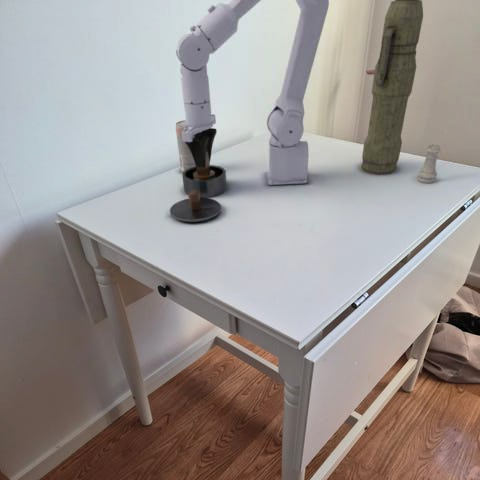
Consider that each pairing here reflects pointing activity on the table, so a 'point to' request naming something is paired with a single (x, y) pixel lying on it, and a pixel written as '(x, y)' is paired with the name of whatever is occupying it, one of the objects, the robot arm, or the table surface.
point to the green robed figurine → (392, 86)
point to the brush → (204, 171)
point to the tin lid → (195, 208)
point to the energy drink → (183, 149)
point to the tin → (205, 182)
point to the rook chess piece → (429, 165)
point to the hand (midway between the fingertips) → (203, 164)
